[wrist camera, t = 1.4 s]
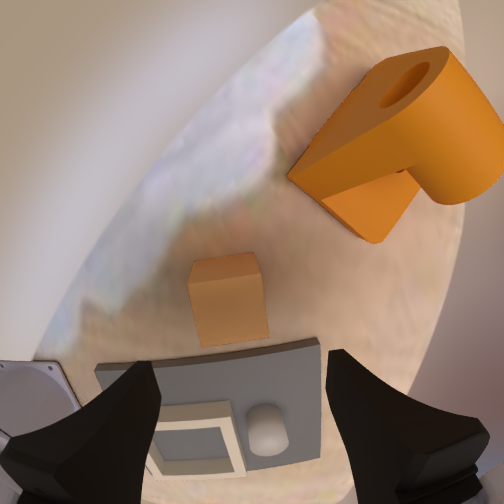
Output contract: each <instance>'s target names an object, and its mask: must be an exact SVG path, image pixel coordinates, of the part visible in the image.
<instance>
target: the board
mask: <svg viewBox="0 0 504 504" xmlns="http://www.w3.org/2000/svg"><path fill="white" fill-rule="evenodd" d="M151 363H152V367H153V370H154V373H155V377H156V380H157V383H158V386H159V389H160V392H161V396H162V400H161V407H160V413H159V418H158V422H157V425H156V429H155V432H154V435H153V439H152V442H151V445H150V449H149V452H148V455H147V459H146V463H145V466H146V468H147V469H148V471H149V472H150V474H151V475H152V476H154V478H155V479H156V480H161V481H184V480H209V479H223V478H234V477H243V476H247V471H251V470H258V469H265V468H271V467H277V466H283V465H288V464H293V463H298V462H303V461H308V460H312V459H316V458H320V446H321V350H320V343H319V341H318V339H317V338H313V339H308V340H303V341H298V342H292V343H287V344H282V345H276V346H270V347H264V348H258V349H252V350H245V351H239V352H232V353H225V354H217V355H209V356H201V357H192V358H183V359H173V360H162V361H151ZM133 364H134V363H119V364H98V365H97V366H96V368H95V370H94V372H95V375H96V377H97V379H98V381H99V383H100V386H101V388H102V390H103V391H104V390H105V389H107V388H108V387H109V386H110V385H111V384H112V383H113V382H115V381H116V380H117V379H118V378H119V377H120V376H121V375H122V374H123V373H124V372H125V371H127V370H128V369H129V368H130V367H131V366H132V365H133Z"/></svg>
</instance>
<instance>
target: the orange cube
mask: <svg viewBox="0 0 504 504" xmlns="http://www.w3.org/2000/svg"><path fill="white" fill-rule="evenodd" d="M187 287H188V291H189V296H190V300H191V305H192V309H193V314H194V318H195V322H196V327H197V331H198V335H199V339H200V343H201V347H209V346H216V345H224V344H231V343H237V342H244V341H250V340H257V339H263V338H269V331H268V323H267V315H266V307H265V299H264V292H263V284H262V276H261V272H260V269H259V266H258V264H257V261H256V259H255V256H254V254H253V252H252V253H245V254H239V255H232V256H226V257H219V258H212V259H206V260H199V261H194V263H193V266H192V270H191V273H190V276H189V280H188V283H187Z"/></svg>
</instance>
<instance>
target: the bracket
mask: <svg viewBox="0 0 504 504" xmlns="http://www.w3.org/2000/svg"><path fill="white" fill-rule="evenodd" d="M307 147H308V149H307V150H306V152H305V153H304V154H303V155H302V157H301V158H300V159H299V160H298V162H297V163H296V164H295V166H294V167H293V168H292V169H291V171H290V172H289V173H288V174H287V176H286V177H287V178H289V179H290V180H291V181H292V182H294V183H295V184H296V185H297V186H298V187H300V188H301V189H302V190H303V191H305V192H306V193H307V194H308V195H309V196H311V197H312V198H313V199H314V200H315V201H317V202H318V203H319V204H320V205H321V206H323V207H324V208H325V209H326V210H327V211H328V212H330V213H331V214H332V215H333V216H334V217H335V218H336V219H338V220H339V221H340V222H341V223H342V224H343V225H344V226H346V227H347V228H348V229H349V230H350V231H351V232H352V233H354V234H355V235H356V236H358V237H360V238H361V239H363V240H365V241H367V242H369V243H372V244H377V243H380V242H382V241H383V240H384V239H385V238H386V237H387V235H388V234H389V232H390V231H391V230H392V228H393V227H394V226H395V224H396V223H397V221H398V220H399V219H400V217H401V216H402V214H403V213H404V211H405V210H406V208H407V207H408V206H409V204H410V203H411V201H412V200H413V198H414V197H415V195H416V194H417V192H418V191H419V189H420V188H422V189H423V190H424V191H425V192H426V193H427V195H428V196H429V197H430V198H431V199H432V200H433V201H434V202H436V203H439V204H443V205H454V204H459V203H463V202H466V201H469V200H471V199H473V198H475V197H477V196H479V195H480V194H482V193H483V192H484V191H486V190H487V189H488V188H490V187H491V186H492V185H493V184H494V183H495V182H496V181H497V180H498V179H499V178H500V176H501V175H502V174H503V172H504V124H503V123H502V121H501V120H500V118H499V116H498V115H497V113H496V112H495V110H494V108H493V107H492V105H491V104H490V102H489V101H488V99H487V98H486V96H485V95H484V94H483V92H482V91H481V89H480V88H479V87H478V85H477V84H476V82H475V81H474V80H473V78H472V77H471V76H470V75H469V73H468V72H467V71H466V69H465V68H464V67H463V66H462V64H461V63H460V62H459V61H458V59H457V58H456V57H455V56H454V55H453V54H452V52H451V51H450V50H449V49H448V48H447V47H444V46H440V47H434V48H429V49H424V50H420V51H415V52H410V53H406V54H402V55H398V56H394V57H390V58H386V59H385V60H383V61H381V62H380V63H378V64H377V65H375V66H374V67H373V68H372V70H371V71H370V72H369V73H368V74H367V76H366V77H365V78H364V79H363V81H362V82H361V83H360V84H359V85H358V87H357V88H355V89H353V90H352V91H351V92H350V94H349V95H348V96H347V97H346V99H345V100H344V101H343V102H342V103H341V105H340V106H339V107H338V108H337V110H336V111H335V112H334V113H333V115H332V116H331V117H330V118H329V120H328V121H327V122H326V123H325V125H324V126H323V127H322V128H321V130H320V131H319V132H318V133H317V135H316V136H315V137H314V138H313V140H312V141H311V142H310V143H309V145H308V146H307Z"/></svg>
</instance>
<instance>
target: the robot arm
mask: <svg viewBox="0 0 504 504" xmlns="http://www.w3.org/2000/svg"><path fill="white" fill-rule="evenodd" d="M50 366H51V367H52V368H51V367H50ZM325 388H326V393H327V397H328V401H329V405H330V409H331V412H332V414H333V417H334V419H335V422H336V425H337V427H338V430H339V432H340V435H341V437H342V440H343V443H344V445H345V448H346V451H347V454H348V457H349V461H350V466H351V470H352V474H353V479H354V483H355V488H356V493H357V499H358V504H504V462H503V463H502V464H500V465H498V466H497V467H495V468H494V469H492V470H490V471H488V472H487V473H485V474H484V475H483V476H481V477H480V478H479V479H478V477H477V476H476V474H475V473H477V472H478V468H477V466H476V465H475V462H476V461H477V460H478V458H479V457H480V455H481V454H482V453H483V451H484V450H485V448H486V446H487V445H488V442H489V439H490V435H489V433H488V431H487V430H486V429H485V427H484V426H483V425H482V423H481V422H480V421H479V419H478V418H473V417H468V416H462V415H457V414H453V413H449V412H446V411H443V410H439V409H436V408H433V407H431V406H428V405H426V404H423V403H421V402H419V401H416V400H414V399H412V398H410V397H408V396H407V395H405V394H403V393H401V392H399V391H397V390H396V389H394V388H393V387H391V386H390V385H388V384H387V383H385V382H384V381H382V380H381V379H379V378H378V377H377V376H375V375H374V374H373V373H371V372H370V371H369V370H368V369H366V368H365V367H364V366H363V365H361V364H360V363H359V362H358V361H357V360H356V359H354V358H353V357H352V356H351V355H350V354H349V353H347V352H346V351H345V350H344V349H338V350H331V351H329V353H328V365H327V376H326V387H325ZM161 400H162V396H161V392H160V389H159V386H158V383H157V380H156V377H155V373H154V370H153V367H152V363H151V361H137V362H136V363H134V364H133V365H132V366H131V367H130V368H129V369H128V370H127V371H125V372H124V373H123V374H122V375H121V376H120V377H119V378H118V379H117V380H116V381H115V382H113V383H112V384H111V385H110V386H109V387H108V388H107V389H105V390H104V391H103V392H102V393H101V394H99V395H98V396H97V397H96V398H94V399H93V400H92V401H90V402H89V403H88V404H86V405H85V406H83V407H82V408H81V407H80V405H79V403H78V401H77V399H76V397H75V396H74V394H73V392H72V390H71V388H70V386H69V384H68V382H67V380H66V378H65V376H64V374H63V372H62V370H61V367H60V366H59V364H58V363H56V362H32V361H29V362H28V361H4V360H0V504H141V492H142V483H143V476H144V469H145V463H146V459H147V455H148V452H149V449H150V445H151V442H152V439H153V435H154V432H155V429H156V425H157V422H158V418H159V413H160V407H161Z"/></svg>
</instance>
